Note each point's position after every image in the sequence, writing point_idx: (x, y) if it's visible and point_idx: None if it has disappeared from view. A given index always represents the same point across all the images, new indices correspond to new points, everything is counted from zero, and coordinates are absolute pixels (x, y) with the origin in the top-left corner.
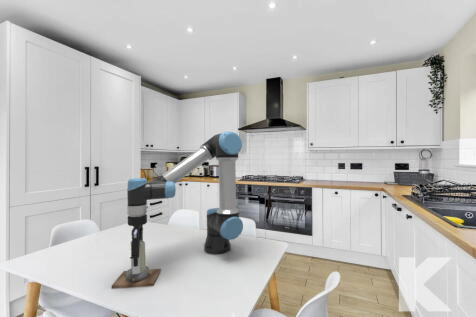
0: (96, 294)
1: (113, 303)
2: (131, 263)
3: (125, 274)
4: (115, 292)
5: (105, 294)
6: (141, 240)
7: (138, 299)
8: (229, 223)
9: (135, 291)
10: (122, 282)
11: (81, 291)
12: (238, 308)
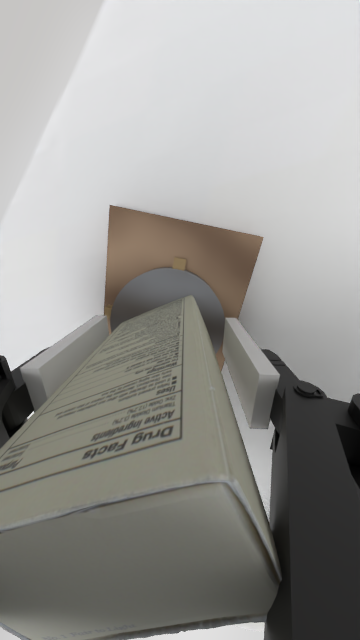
0: (75, 139)
1: (2, 247)
2: (184, 306)
3: (173, 263)
4: (81, 236)
5: (70, 191)
6: (207, 618)
7: (26, 332)
8: None
9: (78, 316)
10: (131, 256)
11: (120, 10)
12: None
